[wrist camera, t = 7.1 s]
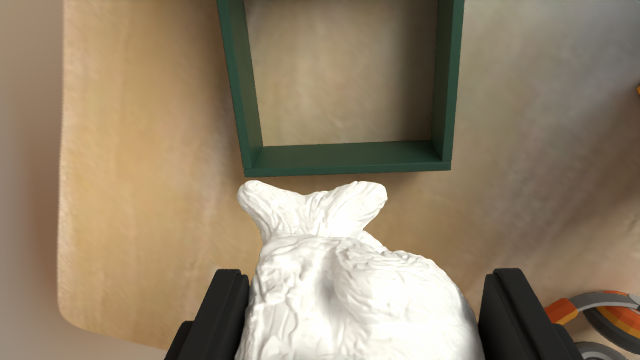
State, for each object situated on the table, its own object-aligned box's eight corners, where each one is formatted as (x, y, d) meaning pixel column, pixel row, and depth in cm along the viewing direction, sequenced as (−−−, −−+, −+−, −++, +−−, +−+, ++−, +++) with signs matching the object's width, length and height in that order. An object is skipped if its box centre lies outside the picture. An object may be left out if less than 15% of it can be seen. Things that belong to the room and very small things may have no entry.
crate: (452, -67, 24) (470, -74, 20) (438, 147, 30) (451, 170, 26) (227, -50, 25) (207, -54, 21) (256, 154, 31) (244, 177, 27)
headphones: (707, 428, 37) (505, 462, 34) (655, 377, 42) (472, 402, 38) (816, 279, 30) (571, 302, 26) (737, 237, 34) (521, 252, 31)
